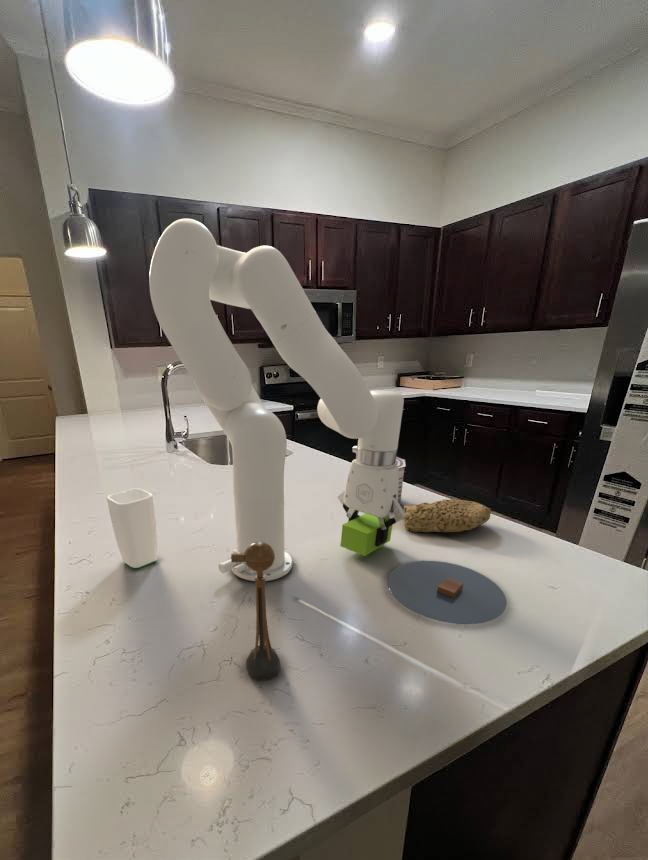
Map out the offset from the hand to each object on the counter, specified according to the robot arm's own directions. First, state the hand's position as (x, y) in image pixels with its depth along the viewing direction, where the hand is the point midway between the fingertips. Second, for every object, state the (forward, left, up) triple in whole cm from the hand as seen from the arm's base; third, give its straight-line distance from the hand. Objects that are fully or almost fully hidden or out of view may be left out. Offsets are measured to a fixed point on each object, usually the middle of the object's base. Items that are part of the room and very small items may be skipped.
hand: (366, 538), depth 89 cm
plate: (-3, -19, -3) cm, 19 cm away
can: (+27, +12, -3) cm, 30 cm away
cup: (-35, +32, -3) cm, 48 cm away
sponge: (+23, -8, -3) cm, 24 cm away
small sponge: (0, 0, -1) cm, 1 cm away
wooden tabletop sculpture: (-39, -8, -3) cm, 40 cm away
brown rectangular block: (-3, -20, -3) cm, 20 cm away
